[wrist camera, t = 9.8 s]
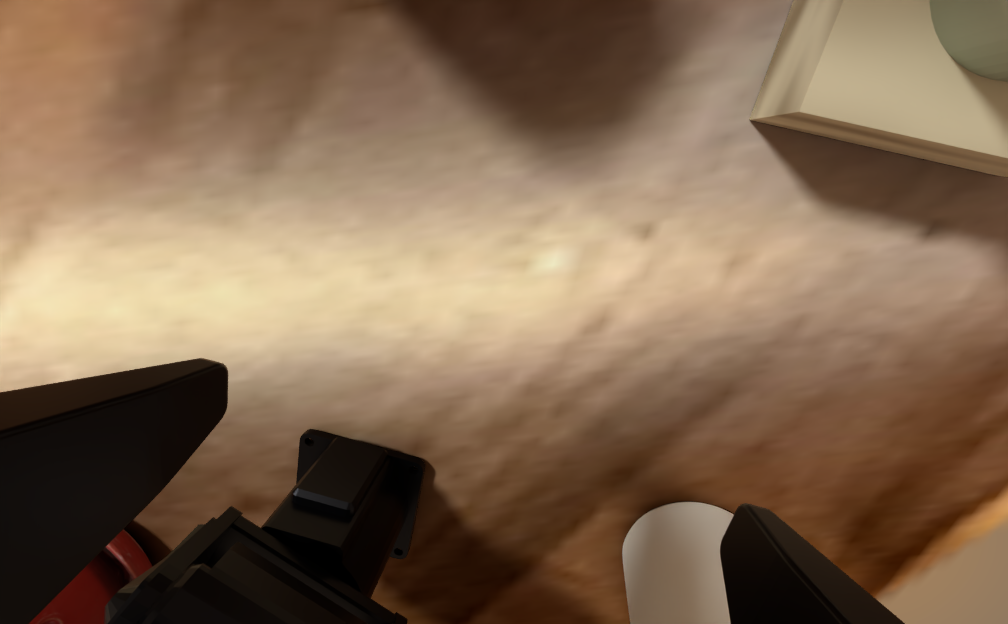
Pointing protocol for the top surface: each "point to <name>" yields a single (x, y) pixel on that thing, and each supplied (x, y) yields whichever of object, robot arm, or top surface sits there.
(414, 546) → the top surface
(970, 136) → the beech block
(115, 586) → the plant pot
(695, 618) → the can
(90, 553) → the robot arm
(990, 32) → the grey-green rounded piece
